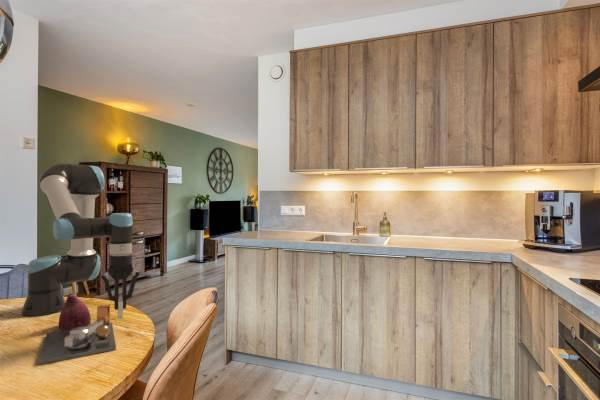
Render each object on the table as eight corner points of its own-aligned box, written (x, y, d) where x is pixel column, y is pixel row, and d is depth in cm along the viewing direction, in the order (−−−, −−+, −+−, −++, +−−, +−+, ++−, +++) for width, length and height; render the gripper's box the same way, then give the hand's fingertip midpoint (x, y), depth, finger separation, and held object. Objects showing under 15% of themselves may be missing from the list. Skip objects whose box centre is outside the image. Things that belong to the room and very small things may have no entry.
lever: (77, 348, 104) (77, 326, 104) (59, 348, 104) (60, 326, 104) (113, 323, 125) (113, 304, 125) (99, 323, 125) (99, 304, 125)
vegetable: (75, 339, 125) (71, 304, 121) (52, 333, 127) (47, 298, 123) (97, 323, 135) (94, 289, 131) (76, 317, 137) (72, 284, 133)
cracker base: (47, 336, 120) (47, 315, 120) (111, 325, 131) (111, 306, 131) (38, 365, 99) (38, 339, 99) (115, 349, 109) (116, 326, 109)
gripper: (100, 257, 120) (100, 324, 120) (141, 254, 127) (140, 317, 127) (100, 254, 126) (99, 317, 126) (138, 251, 133) (138, 312, 133)
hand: (120, 317), depth 126 cm, fingers closed
